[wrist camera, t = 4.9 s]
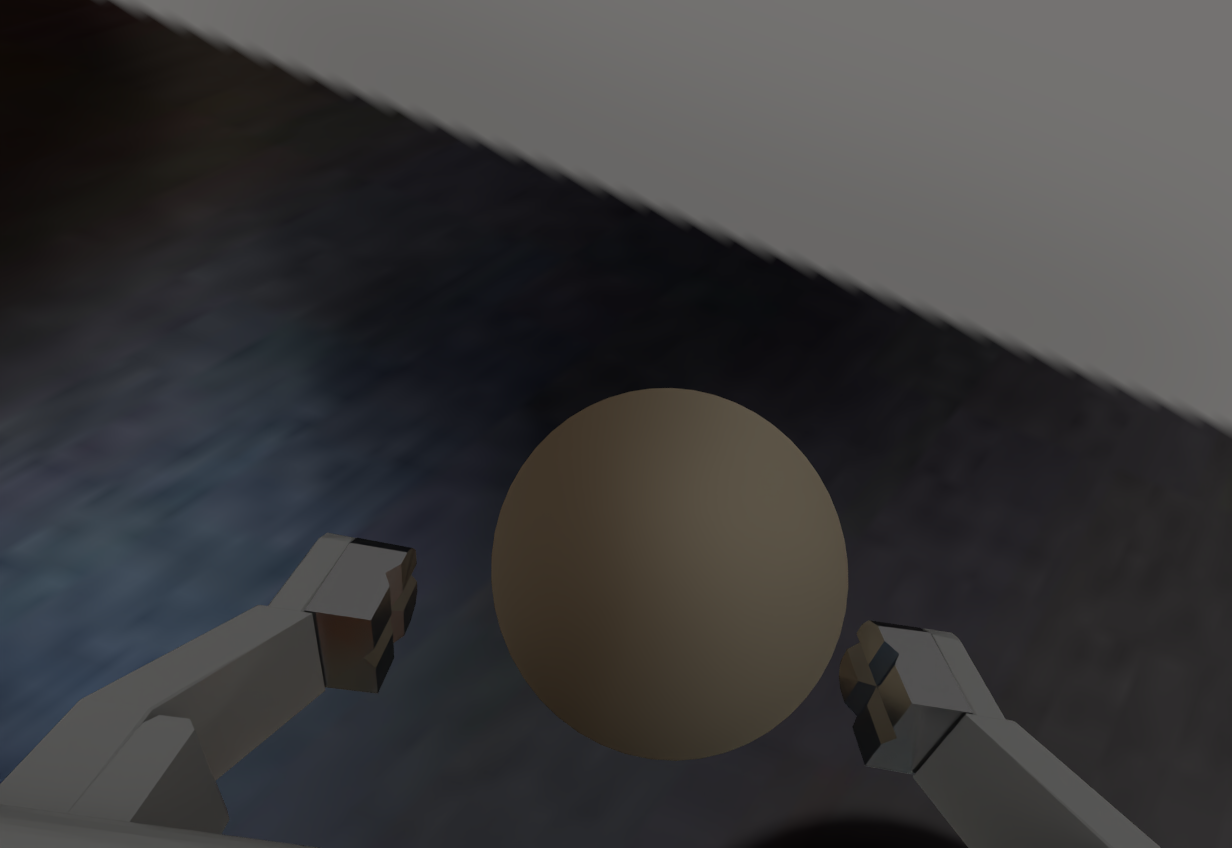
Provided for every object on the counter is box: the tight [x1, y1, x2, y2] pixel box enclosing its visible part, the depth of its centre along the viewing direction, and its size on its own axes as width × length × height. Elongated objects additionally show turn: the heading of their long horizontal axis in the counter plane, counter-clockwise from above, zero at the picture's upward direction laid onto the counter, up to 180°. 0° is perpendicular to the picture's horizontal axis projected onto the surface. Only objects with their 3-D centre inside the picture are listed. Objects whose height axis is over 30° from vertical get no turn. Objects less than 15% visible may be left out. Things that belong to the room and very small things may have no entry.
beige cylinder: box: [491, 388, 848, 761], centre depth 13 cm, size 5×5×10 cm
